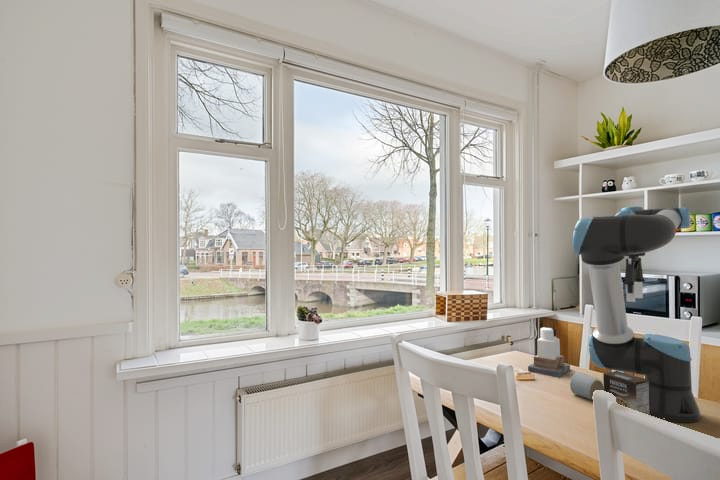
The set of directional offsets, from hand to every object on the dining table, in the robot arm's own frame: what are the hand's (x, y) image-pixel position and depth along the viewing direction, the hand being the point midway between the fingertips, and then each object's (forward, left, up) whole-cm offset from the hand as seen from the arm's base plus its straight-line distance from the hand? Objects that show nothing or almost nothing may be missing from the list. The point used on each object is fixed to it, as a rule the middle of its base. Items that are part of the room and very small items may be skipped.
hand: (634, 299), depth 158 cm
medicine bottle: (-12, +29, -25) cm, 40 cm away
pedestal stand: (-12, +29, -31) cm, 44 cm away
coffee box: (-57, -8, -31) cm, 65 cm away
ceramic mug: (-33, +8, -31) cm, 46 cm away
